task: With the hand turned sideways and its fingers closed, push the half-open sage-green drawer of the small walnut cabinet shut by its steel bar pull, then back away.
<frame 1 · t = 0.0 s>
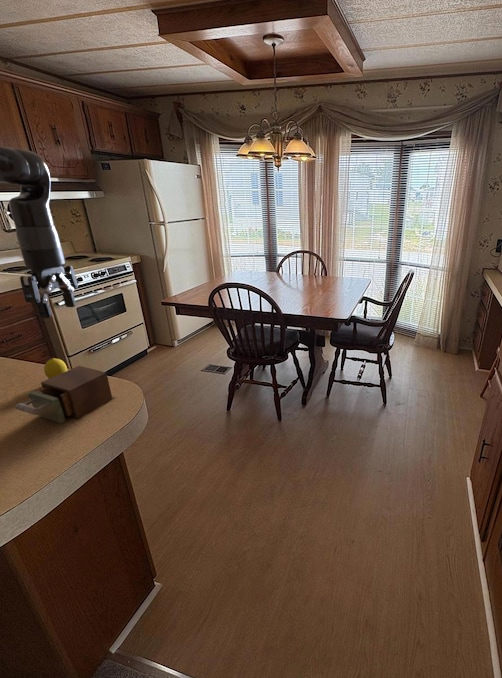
hand: (59, 311, 85), 28 cm above the table, tool pointing down, fingers open, 8 cm apart
lemon: (59, 381, 107), on the table
drawer: (55, 402, 89), point 4 cm above the table, slide at 2.5 cm
cabinet: (82, 403, 97), on the table
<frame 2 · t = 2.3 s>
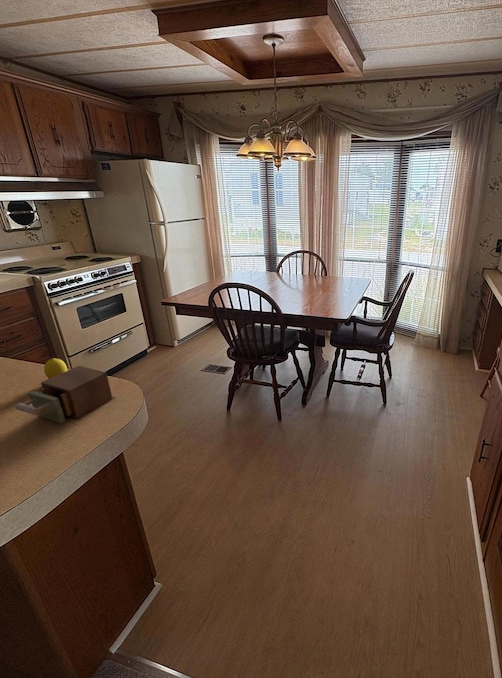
nothing on the table moved.
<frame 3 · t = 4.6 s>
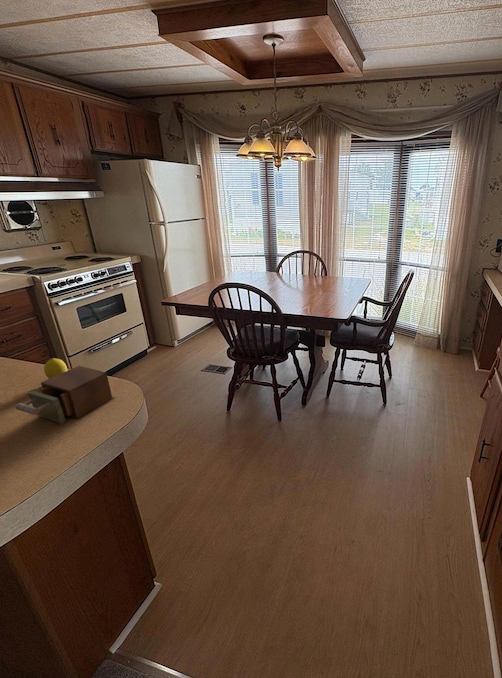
nothing on the table moved.
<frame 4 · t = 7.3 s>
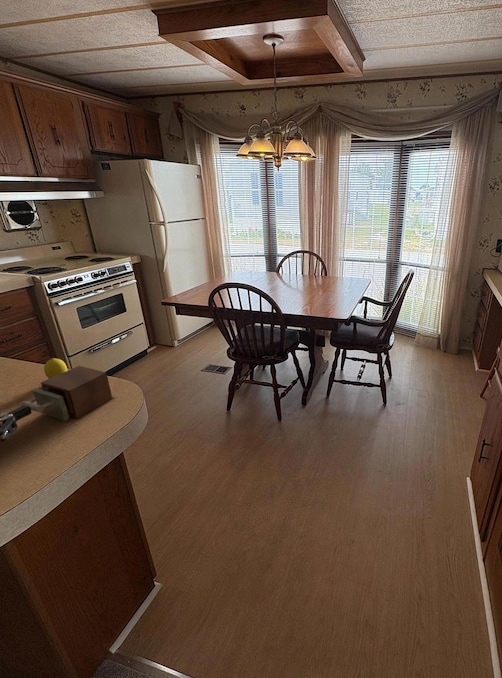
hand: (28, 408, 84), 6 cm above the table, tool horizontal, fingers closed
drawer: (59, 400, 90), point 4 cm above the table, slide at 1.4 cm, touching gripper
everything else where it was.
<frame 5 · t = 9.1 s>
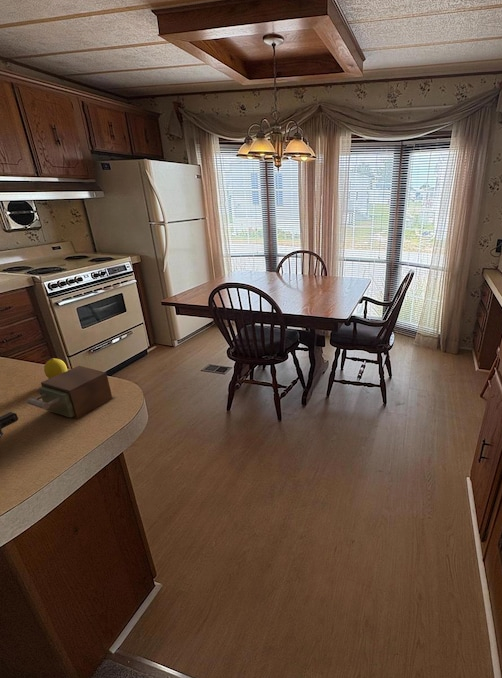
hand: (15, 415, 81), 6 cm above the table, tool horizontal, fingers closed
drawer: (64, 397, 92), point 4 cm above the table, slide at 0.0 cm, touching cabinet
everything else where it was.
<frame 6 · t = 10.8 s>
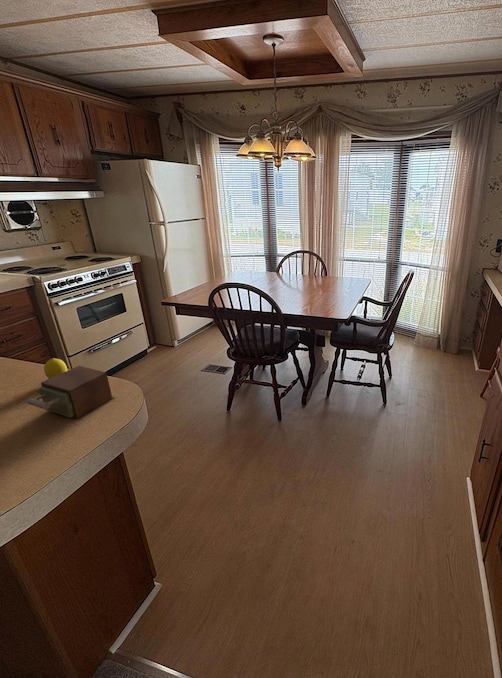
nothing on the table moved.
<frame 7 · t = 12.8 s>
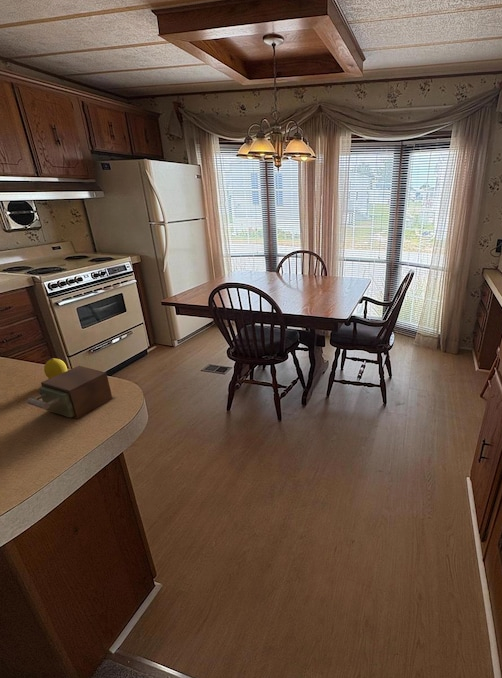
nothing on the table moved.
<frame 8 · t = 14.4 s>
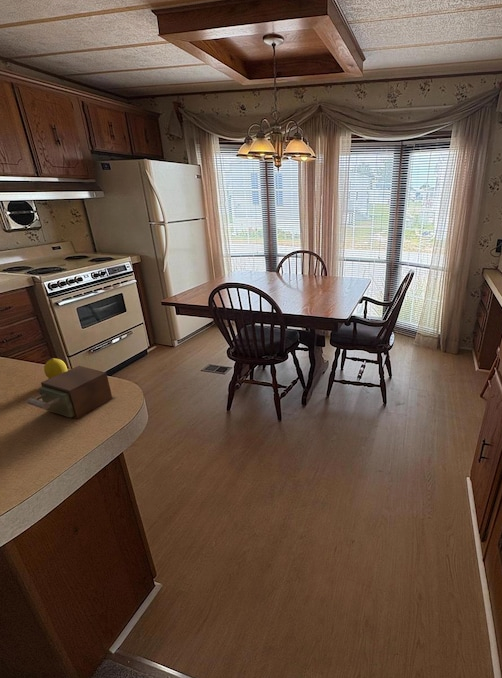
nothing on the table moved.
at the end: drawer slide at 0.0 cm; lemon moved 0.2 cm from its start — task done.
